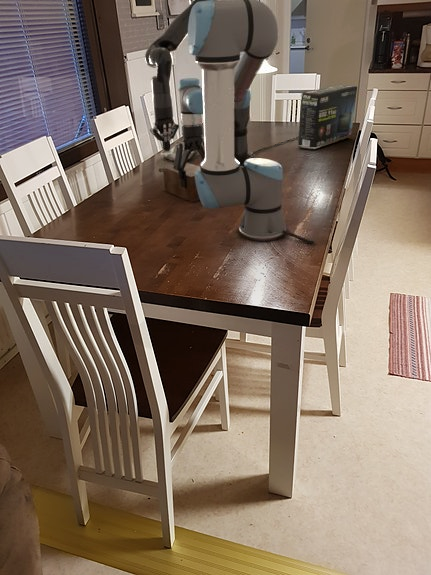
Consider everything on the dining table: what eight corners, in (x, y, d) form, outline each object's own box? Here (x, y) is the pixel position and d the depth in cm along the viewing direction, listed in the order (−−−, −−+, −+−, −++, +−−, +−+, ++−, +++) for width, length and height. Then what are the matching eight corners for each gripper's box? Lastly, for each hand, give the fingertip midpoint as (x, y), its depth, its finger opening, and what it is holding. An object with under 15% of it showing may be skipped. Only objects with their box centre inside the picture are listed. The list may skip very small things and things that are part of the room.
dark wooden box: (166, 191, 187) (163, 167, 182) (186, 185, 193) (185, 161, 188) (192, 202, 176) (190, 176, 170) (213, 195, 181) (212, 170, 176)
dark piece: (156, 184, 192) (154, 165, 188) (174, 179, 197) (173, 161, 193) (188, 197, 177) (187, 177, 173) (207, 191, 182) (206, 172, 178)
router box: (314, 151, 231) (318, 94, 217) (296, 148, 237) (299, 92, 224) (352, 138, 251) (358, 85, 238) (335, 135, 258) (340, 83, 245)
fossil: (184, 156, 217) (163, 136, 220) (174, 174, 223) (154, 154, 227) (205, 153, 231) (186, 134, 234) (195, 171, 237) (176, 152, 240)
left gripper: (171, 101, 183) (174, 145, 192) (142, 106, 176) (148, 152, 185) (182, 103, 178) (185, 149, 187) (153, 108, 171) (158, 155, 180)
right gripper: (209, 118, 176) (211, 174, 187) (159, 128, 164) (165, 188, 175) (222, 121, 171) (223, 178, 182) (172, 131, 159) (177, 193, 170)
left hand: (166, 150), depth 186 cm, fingers closed
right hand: (195, 183), depth 179 cm, fingers closed on dark wooden box, 10 cm apart
